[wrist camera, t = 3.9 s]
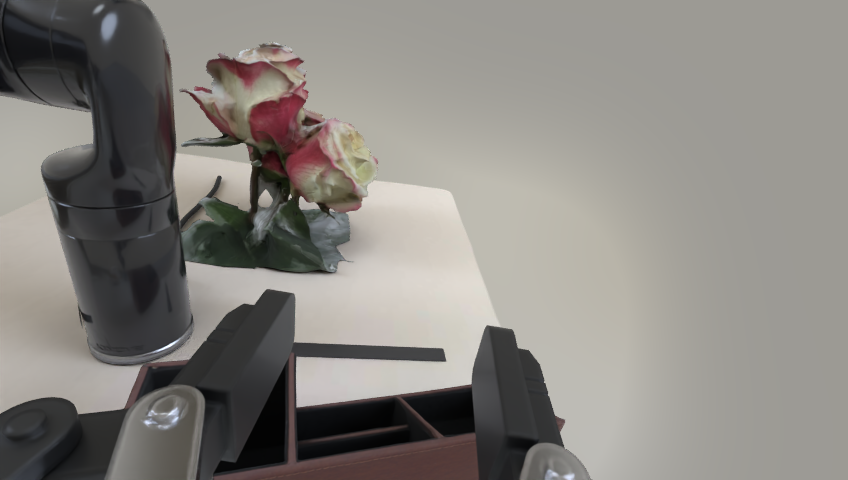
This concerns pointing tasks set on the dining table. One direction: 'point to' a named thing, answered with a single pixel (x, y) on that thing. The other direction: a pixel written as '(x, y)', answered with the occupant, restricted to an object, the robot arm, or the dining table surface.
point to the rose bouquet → (278, 168)
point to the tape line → (368, 352)
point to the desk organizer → (348, 434)
